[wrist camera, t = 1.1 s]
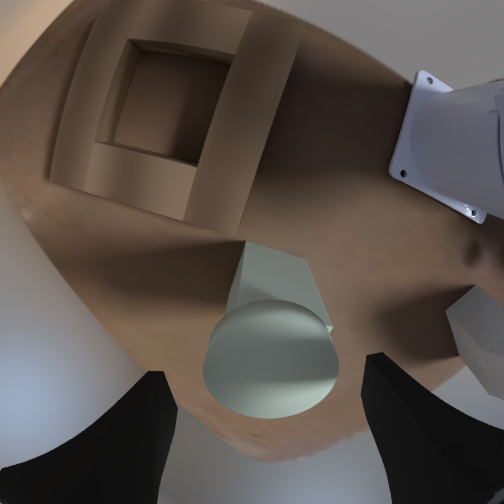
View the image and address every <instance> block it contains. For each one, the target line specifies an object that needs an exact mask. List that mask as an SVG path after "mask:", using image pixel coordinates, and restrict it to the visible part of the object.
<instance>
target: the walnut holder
mask: <svg viewBox="0 0 504 504" xmlns="http://www.w3.org/2000/svg"><path fill="white" fill-rule="evenodd" d="M305 28H306V26H304V25H301V24H298V23H294V22H291V21H288V20H284V19H281V18H277V17H274V16H270V15H266V14H262V13H258V12H254V11H249V10H244V9H240V8H235V7H229V6H224V5H218V4H211V3H205V2H197V1H188V0H105V2H104V4H103V6H102V8H101V10H100V12H99V14H98V16H97V18H96V20H95V22H94V25H93V27H92V29H91V31H90V34H89V36H88V39H87V41H86V43H85V46H84V48H83V51H82V54H81V56H80V59H79V62H78V65H77V67H76V70H75V73H74V76H73V79H72V82H71V85H70V89H69V92H68V95H67V99H66V102H65V106H64V110H63V113H62V117H61V121H60V125H59V130H58V134H57V139H56V144H55V149H54V154H53V159H52V165H51V171H50V178H49V181H50V182H53V183H57V184H60V185H63V186H67V187H70V188H74V189H77V190H80V191H84V192H87V193H91V194H94V195H97V196H101V197H104V198H107V199H111V200H114V201H118V202H121V203H124V204H128V205H131V206H134V207H138V208H141V209H144V210H148V211H151V212H154V213H157V214H161V215H164V216H167V217H171V218H174V219H177V220H181V221H184V222H187V223H190V224H194V225H197V226H200V227H203V228H207V229H210V230H213V231H217V232H220V233H223V234H226V235H229V236H233V237H235V236H236V233H237V230H238V227H239V224H240V220H241V217H242V214H243V211H244V208H245V205H246V202H247V199H248V195H249V192H250V189H251V186H252V183H253V180H254V177H255V174H256V171H257V168H258V165H259V162H260V159H261V156H262V153H263V150H264V147H265V144H266V140H267V138H268V135H269V132H270V129H271V126H272V123H273V120H274V117H275V114H276V111H277V108H278V105H279V102H280V99H281V96H282V93H283V90H284V87H285V85H286V82H287V79H288V76H289V73H290V70H291V67H292V64H293V62H294V59H295V56H296V53H297V50H298V47H299V45H300V42H301V39H302V36H303V33H304V31H305ZM142 50H147V51H155V52H163V53H170V54H176V55H182V56H188V57H194V58H199V59H204V60H209V61H214V62H218V63H223V64H227V65H231V67H230V69H229V72H228V75H227V77H226V80H225V83H224V86H223V89H222V92H221V94H220V97H219V100H218V103H217V106H216V109H215V112H214V115H213V118H212V121H211V124H210V127H209V130H208V134H207V137H206V140H205V143H204V146H203V150H202V153H201V156H200V160H199V163H198V164H197V163H194V162H190V161H187V160H183V159H179V158H175V157H172V156H168V155H164V154H160V153H156V152H152V151H148V150H144V149H140V148H136V147H131V146H127V145H123V144H118V143H114V142H113V140H114V136H115V132H116V128H117V125H118V121H119V117H120V114H121V111H122V107H123V104H124V101H125V98H126V94H127V91H128V88H129V85H130V82H131V79H132V77H133V74H134V71H135V68H136V66H137V63H138V60H139V58H140V55H141V52H142Z"/></svg>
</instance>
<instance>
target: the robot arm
mask: <svg viewBox="0 0 504 504" xmlns="http://www.w3.org/2000/svg"><path fill="white" fill-rule="evenodd" d="M427 78H428V79H429V80H430V84H429V83H428V82H427ZM402 170H404V172H405V174H404V176H403V177H401V175H400V172H401V171H402ZM389 174H390V175H391V176H392V177H393V178H395V179H397V180H400V181H402V182H404V183H406V184H408V185H410V186H412V187H414V188H416V189H418V190H420V191H422V192H423V193H425V194H427V195H429V196H431V197H433V198H435V199H437V200H439V201H440V202H442V203H444V204H446V205H448V206H449V207H451V208H453V209H455V210H456V211H458V212H460V213H462V214H463V215H465V216H467V217H468V218H470V219H472V220H473V221H475V222H477V223H479V224H482V223H483V222H484V221H485V218H486V215H487V213H488V214H491V215H494V216H496V217H499V218H501V219H504V81H499V82H493V83H487V84H482V85H477V86H472V87H467V88H463V89H458V90H453V89H452V88H450V87H448V86H447V85H446V84H444V83H443V82H441V81H440V80H438V79H437V78H435V77H433V76H432V75H430V74H429V73H427V72H426V71H423V70H421V71H418V72H417V73H416V75H415V79H414V83H413V87H412V91H411V95H410V99H409V103H408V106H407V110H406V114H405V117H404V121H403V124H402V127H401V131H400V134H399V137H398V141H397V144H396V147H395V150H394V153H393V156H392V159H391V163H390V166H389ZM472 210H473V214H472ZM361 398H362V402H363V407H364V411H365V415H366V418H367V421H368V424H369V426H370V429H371V432H372V434H373V437H374V439H375V442H376V445H377V448H378V450H379V453H380V455H381V458H382V461H383V464H384V467H385V470H386V474H387V478H388V483H389V488H390V492H391V499H392V504H504V430H503V429H499V428H496V427H493V426H491V425H488V424H486V423H484V422H481V421H479V420H477V419H475V418H472V417H471V416H468V415H466V414H465V413H463V412H461V411H459V410H458V409H456V408H454V407H452V406H451V405H449V404H447V403H446V402H444V401H443V400H441V399H440V398H438V397H437V396H436V395H434V394H433V393H431V392H430V391H429V390H427V389H426V388H425V387H423V386H422V385H421V384H420V383H418V382H417V381H416V380H415V379H413V378H412V377H411V376H410V375H408V374H407V373H406V372H405V371H404V370H403V369H401V368H400V367H399V366H398V365H397V364H396V363H395V362H393V361H392V360H391V359H390V358H389V357H388V356H386V355H385V354H384V353H383V352H380V353H375V354H370V355H367V356H366V363H365V370H364V377H363V384H362V390H361ZM177 410H178V408H177V405H176V403H175V400H174V398H173V395H172V393H171V390H170V387H169V385H168V382H167V380H166V377H165V374H164V371H148V372H147V373H146V374H145V375H144V376H143V377H142V378H141V379H140V380H139V381H138V382H137V383H136V384H135V385H134V386H133V387H132V388H131V389H130V390H129V391H128V392H127V393H126V394H125V395H124V396H123V397H122V398H121V399H120V400H118V402H116V404H114V406H112V407H111V408H110V409H109V410H108V411H107V412H105V413H104V414H103V415H102V416H101V417H100V418H99V419H97V420H96V421H95V422H94V423H93V424H92V425H90V426H89V427H88V428H86V429H85V430H84V431H82V432H81V433H79V434H78V435H76V436H75V437H74V438H72V439H70V440H69V441H67V442H66V443H64V444H62V445H60V446H58V447H57V448H55V449H53V450H51V451H49V452H47V453H45V454H43V455H41V456H39V457H36V458H34V459H31V460H28V461H26V462H23V463H19V464H16V465H12V466H9V467H5V468H2V469H1V471H0V503H2V504H157V500H158V493H159V486H160V482H161V477H162V474H163V470H164V467H165V463H166V460H167V456H168V453H169V449H170V445H171V442H172V439H173V435H174V432H175V426H176V419H177Z"/></svg>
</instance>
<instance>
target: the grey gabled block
mask: <svg viewBox="0 0 504 504" xmlns="http://www.w3.org/2000/svg"><path fill="white" fill-rule="evenodd" d="M445 311H446V314H447V317H448V320H449V323H450V326H451V329H452V333H453V336H454V339H455V342H456V346H457V349H458V353H459V356H460V357H461V359H462V360H463V361H464V362H465V364H466V365H467V366H468V367H469V368H470V370H471V371H472V373H473V374H474V375H475V376H476V378H477V379H478V380H479V382H480V383H481V384H482V386H483V387H484V389H485V390H486V391H487V393H488V394H490V395H492V396H495V397H498V398H500V399H503V400H504V306H503V305H501V304H500V303H499V302H498V301H496V300H495V299H494V298H493V297H491V296H490V295H489V294H488V293H486V292H485V291H484V290H482V289H481V288H480V287H479V286H477V285H475V286H474V287H473V288H472V289H471V290H469V291H468V292H467V293H466V294H465V295H464V296H462V297H461V298H460V299H459V300H458V301H456V302H455V303H454V304H453V305H451V306H450V307H449V308H448V309H446V310H445Z"/></svg>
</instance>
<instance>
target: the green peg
mask: <svg viewBox="0 0 504 504" xmlns="http://www.w3.org/2000/svg"><path fill="white" fill-rule="evenodd" d="M332 328H333V326H332V323H331V321H330V318H329V316H328V313H327V311H326V308H325V306H324V303H323V301H322V298H321V296H320V293H319V291H318V288H317V286H316V283H315V281H314V278H313V276H312V273H311V271H310V269H309V266H308V264H307V261H306V259H303V258H300V257H297V256H294V255H290V254H287V253H284V252H281V251H278V250H275V249H271V248H268V247H265V246H262V245H259V244H255V243H252V242H249V241H246V243H245V246H244V249H243V252H242V255H241V258H240V261H239V264H238V268H237V271H236V274H235V277H234V280H233V283H232V286H231V289H230V292H229V296H228V301H227V306H226V310H225V315H224V317H223V318H222V319H221V320H220V321H219V322H218V324H217V325H216V326H215V328H214V330H213V331H212V334H211V336H210V340H209V344H208V348H207V352H206V356H205V360H204V365H203V376H204V380H205V383H206V386H207V388H208V390H209V391H210V393H211V394H212V395H213V397H214V398H215V399H216V400H217V401H219V402H220V403H221V404H222V405H224V406H225V407H227V408H229V409H230V410H232V411H235V412H237V413H240V414H242V415H246V416H250V417H256V418H281V417H287V416H291V415H295V414H298V413H300V412H303V411H305V410H307V409H309V408H311V407H313V406H314V405H316V404H317V403H318V402H320V401H321V400H322V399H323V398H324V397H325V396H326V395H327V394H328V393H329V392H330V390H331V389H332V387H333V386H334V384H335V382H336V379H337V376H338V371H339V362H338V357H337V354H336V351H335V348H334V345H333V342H332V340H331V337H330V332H331V330H332Z"/></svg>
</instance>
